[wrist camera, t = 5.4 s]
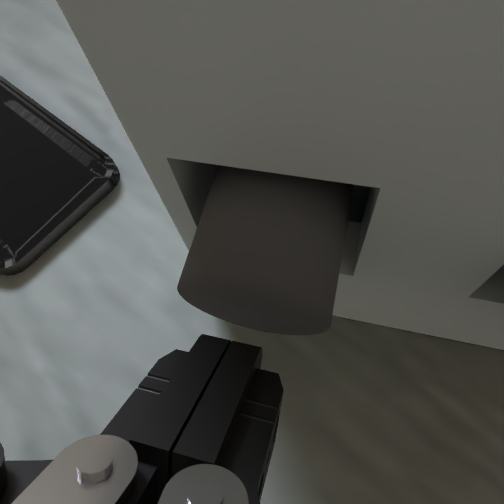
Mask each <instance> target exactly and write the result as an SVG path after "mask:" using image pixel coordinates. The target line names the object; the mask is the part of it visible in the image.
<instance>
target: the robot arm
mask: <svg viewBox="0 0 504 504" xmlns="http://www.w3.org/2000/svg"><path fill="white" fill-rule="evenodd" d="M261 359H262V347H257V346H253V345H249V344H244V343H240V342H236V341H231V340H226V339H222V338H218V337H213V336H209V335H204V334H202V335H201V336H200V337H199V338H198V340H197V341H196V343H195V344H194V346H193V347H192V348H191V350H190V351H189V352H185V351H181V350H177V349H176V350H174V351H173V352H171V353H169V354H168V355H166V356H164V357H162V358H161V359H159V360H158V361H157V363H156V364H155V365H154V366H153V368H152V369H151V370H150V372H149V373H148V376H147V377H145V378H144V379H143V381H142V382H141V383H140V384H139V387H138V389H136V390H135V391H134V392H133V393H132V395H131V396H130V397H129V398H128V400H127V401H126V402H125V404H124V405H123V406H122V407H121V409H120V410H119V411H118V413H117V414H116V415H115V416H114V418H113V419H112V420H111V421H110V423H109V424H108V425H107V427H106V428H105V429H104V430H103V432H102V433H101V434H100V435H95V436H90V437H86V438H83V439H81V440H78V441H76V442H74V443H73V444H71V445H70V446H68V447H67V448H65V449H64V450H63V451H62V452H61V453H60V454H59V455H58V456H57V457H56V458H55V459H54V460H40V461H5V457H4V450H3V447H2V445H1V443H0V504H260V499H261V495H262V491H263V487H264V483H265V479H266V475H267V471H268V467H269V463H270V459H271V455H272V451H273V447H274V443H275V439H276V432H277V426H278V420H279V414H280V408H281V402H282V396H283V387H282V384H281V380H280V377H279V374H278V373H274V372H270V371H265V370H261V369H260V367H261Z"/></svg>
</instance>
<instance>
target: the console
mask: <svg viewBox="0 0 504 504" xmlns="http://www.w3.org/2000/svg"><path fill="white" fill-rule="evenodd" d="M57 2H58V4H59V6H60V8H61V10H62V12H63V14H64V15H65V17H66V19H67V21H68V23H69V25H70V27H71V29H72V31H73V32H74V34H75V36H76V38H77V40H78V42H79V44H80V46H81V48H82V49H83V51H84V53H85V55H86V57H87V59H88V61H89V63H90V65H91V67H92V68H93V70H94V72H95V74H96V76H97V78H98V80H99V82H100V84H101V85H102V87H103V89H104V91H105V93H106V95H107V97H108V99H109V101H110V103H111V104H112V106H113V108H114V110H115V112H116V114H117V116H118V118H119V120H120V121H121V123H122V125H123V127H124V129H125V131H126V133H127V135H128V137H129V138H130V140H131V142H132V144H133V146H134V148H135V150H136V152H137V154H138V156H139V157H140V159H141V161H142V163H143V165H144V167H145V169H146V171H147V173H148V174H149V176H150V178H151V180H152V182H153V184H154V186H155V188H156V190H157V192H158V193H159V195H160V197H161V199H162V201H163V203H164V205H165V207H166V209H167V210H168V212H169V214H170V216H171V218H172V220H173V222H174V224H175V226H176V227H177V229H178V231H179V233H180V235H181V237H182V239H183V241H184V243H185V245H186V246H187V248H188V250H190V247H191V244H192V241H193V238H194V235H195V232H196V229H197V226H198V223H199V221H200V218H201V215H202V212H203V209H204V206H205V203H206V200H207V197H208V194H209V191H210V188H211V185H212V182H213V179H214V176H215V173H216V170H217V167H218V165H222V166H229V167H236V168H243V169H249V170H256V171H263V172H270V173H277V174H284V175H291V176H298V177H305V178H312V179H319V180H326V181H333V182H340V183H347V184H353V185H354V189H353V196H352V202H351V208H350V214H349V220H348V225H347V231H346V237H345V243H344V249H343V255H342V261H341V266H340V272H339V278H338V284H337V290H336V296H335V302H334V308H333V313H332V315H333V316H337V317H342V318H347V319H352V320H357V321H362V322H367V323H372V324H377V325H382V326H387V327H392V328H397V329H402V330H407V331H412V332H417V333H421V334H426V335H431V336H436V337H441V338H446V339H451V340H456V341H461V342H466V343H471V344H476V345H481V346H486V347H491V348H496V349H501V350H504V0H57Z"/></svg>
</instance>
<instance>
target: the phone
mask: <svg viewBox="0 0 504 504" xmlns="http://www.w3.org/2000/svg"><path fill="white" fill-rule="evenodd" d="M119 176H120V173H119V170H118V168H117V166H116V165H115V163H114V162H113V160H112V159H111V158H110V156H109V155H107V154H106V153H105V152H103V151H102V150H101V149H99V148H98V147H96V146H95V145H94V144H92V143H91V142H90V141H88V140H87V139H86V138H84V137H83V136H82V135H80V134H79V133H77V132H76V131H75V130H74V129H72V128H71V127H69V126H68V125H67V124H65V123H64V122H63V121H61V120H60V119H59V118H57V117H56V116H54V115H53V114H52V113H50V112H49V111H48V110H46V109H45V108H44V107H42V106H41V105H40V104H38V103H37V102H35V101H34V100H33V99H31V98H30V97H29V96H27V95H26V94H25V93H23V92H22V91H21V90H19V89H18V88H16V87H15V86H14V85H12V84H11V83H10V82H8V81H7V80H6V79H4V78H3V77H2V76H0V274H3V275H15V274H17V273H20V272H22V271H24V270H25V269H26V268H28V267H29V266H30V265H31V264H32V263H33V262H35V261H36V260H37V259H38V258H39V257H40V256H41V255H42V254H43V253H44V252H45V251H47V250H48V249H49V248H50V247H51V246H52V245H53V244H54V243H55V242H56V241H57V240H59V239H60V238H61V237H62V236H63V235H64V234H65V233H66V232H67V231H68V230H70V229H71V228H72V227H73V226H74V225H75V224H76V223H77V222H78V221H79V220H80V219H82V218H83V217H84V216H85V215H86V214H87V213H88V212H89V211H90V210H91V209H92V208H94V207H95V206H96V205H97V204H98V203H99V202H100V201H101V200H102V199H103V198H104V197H106V196H107V195H108V194H109V193H110V192H111V191H112V190H113V189H114V188H115V187H116V185H117V183H118V181H119Z"/></svg>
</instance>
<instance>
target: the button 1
mask: <svg viewBox="0 0 504 504" xmlns="http://www.w3.org/2000/svg"><path fill="white" fill-rule="evenodd" d="M353 189H354V185H353V184H347V183H340V182H333V181H326V180H319V179H312V178H305V177H298V176H291V175H284V174H277V173H270V172H263V171H256V170H249V169H243V168H236V167H229V166H222V165H218V167H217V170H216V173H215V176H214V179H213V182H212V185H211V188H210V191H209V194H208V197H207V200H206V203H205V206H204V209H203V212H202V215H201V218H200V221H199V223H198V226H197V229H196V232H195V235H194V238H193V241H192V244H191V247H190V250H189V253H188V256H187V259H186V262H185V265H184V268H183V271H182V274H181V277H180V280H179V283H178V287H177V289H178V292H179V294H180V295H181V296H182V297H183V298H184V299H185V300H186V301H187V302H189V303H190V304H191V305H193V306H195V307H196V308H198V309H200V310H202V311H204V312H206V313H208V314H210V315H212V316H215V317H217V318H220V319H222V320H225V321H228V322H231V323H234V324H237V325H241V326H244V327H248V328H252V329H256V330H261V331H266V332H272V333H279V334H288V335H313V334H318V333H322V332H324V331H326V330H327V329H329V327H330V325H331V319H332V313H333V308H334V302H335V296H336V290H337V284H338V278H339V272H340V266H341V261H342V255H343V249H344V243H345V237H346V231H347V225H348V220H349V214H350V208H351V202H352V196H353Z"/></svg>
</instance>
